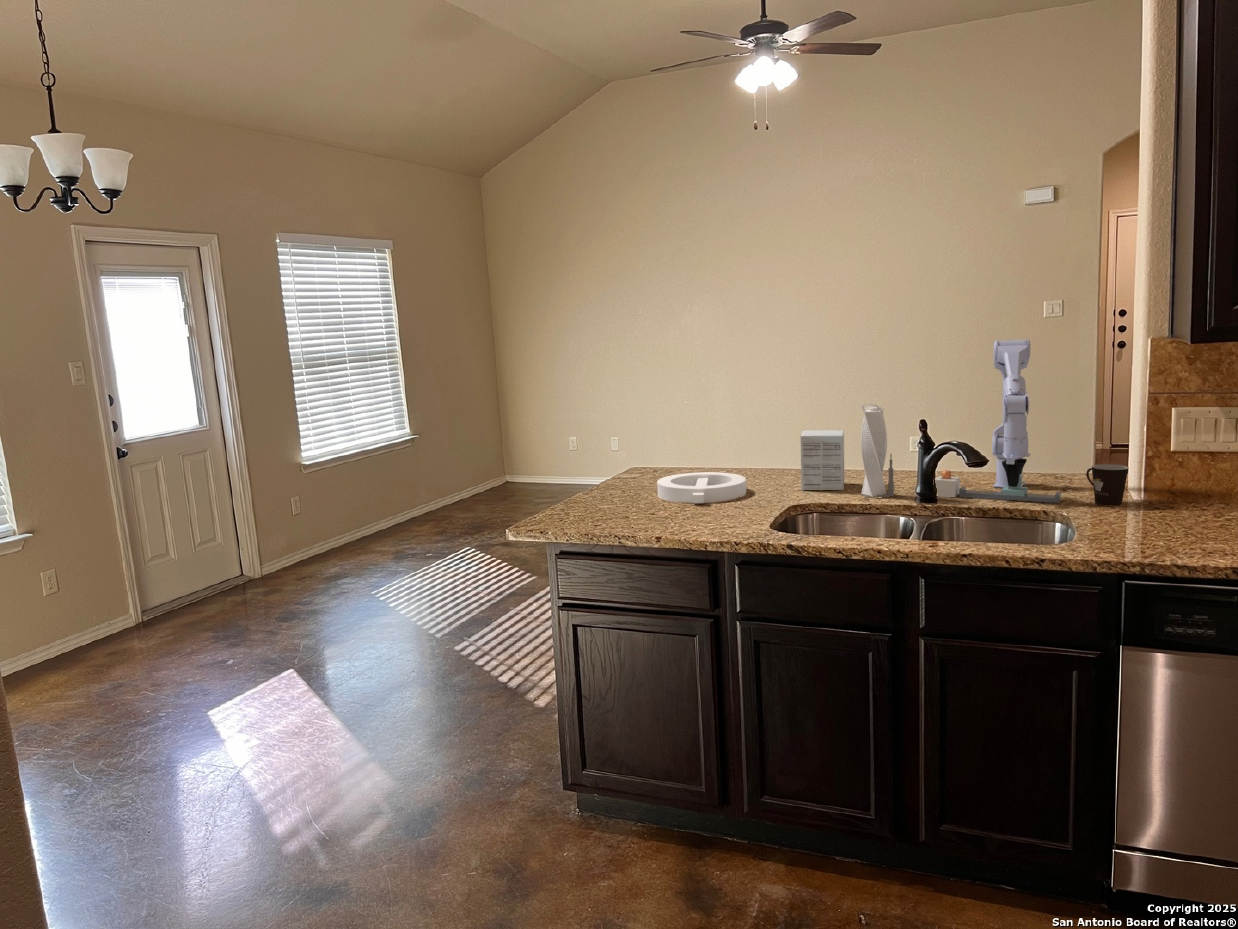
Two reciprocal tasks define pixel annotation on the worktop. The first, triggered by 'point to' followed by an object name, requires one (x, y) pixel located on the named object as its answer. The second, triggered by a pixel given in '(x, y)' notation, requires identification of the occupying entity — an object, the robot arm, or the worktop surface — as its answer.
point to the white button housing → (947, 486)
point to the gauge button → (946, 474)
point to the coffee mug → (1108, 483)
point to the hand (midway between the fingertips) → (1013, 485)
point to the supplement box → (822, 460)
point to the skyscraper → (875, 453)
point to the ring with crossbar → (701, 487)
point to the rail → (1009, 496)
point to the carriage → (1015, 489)
